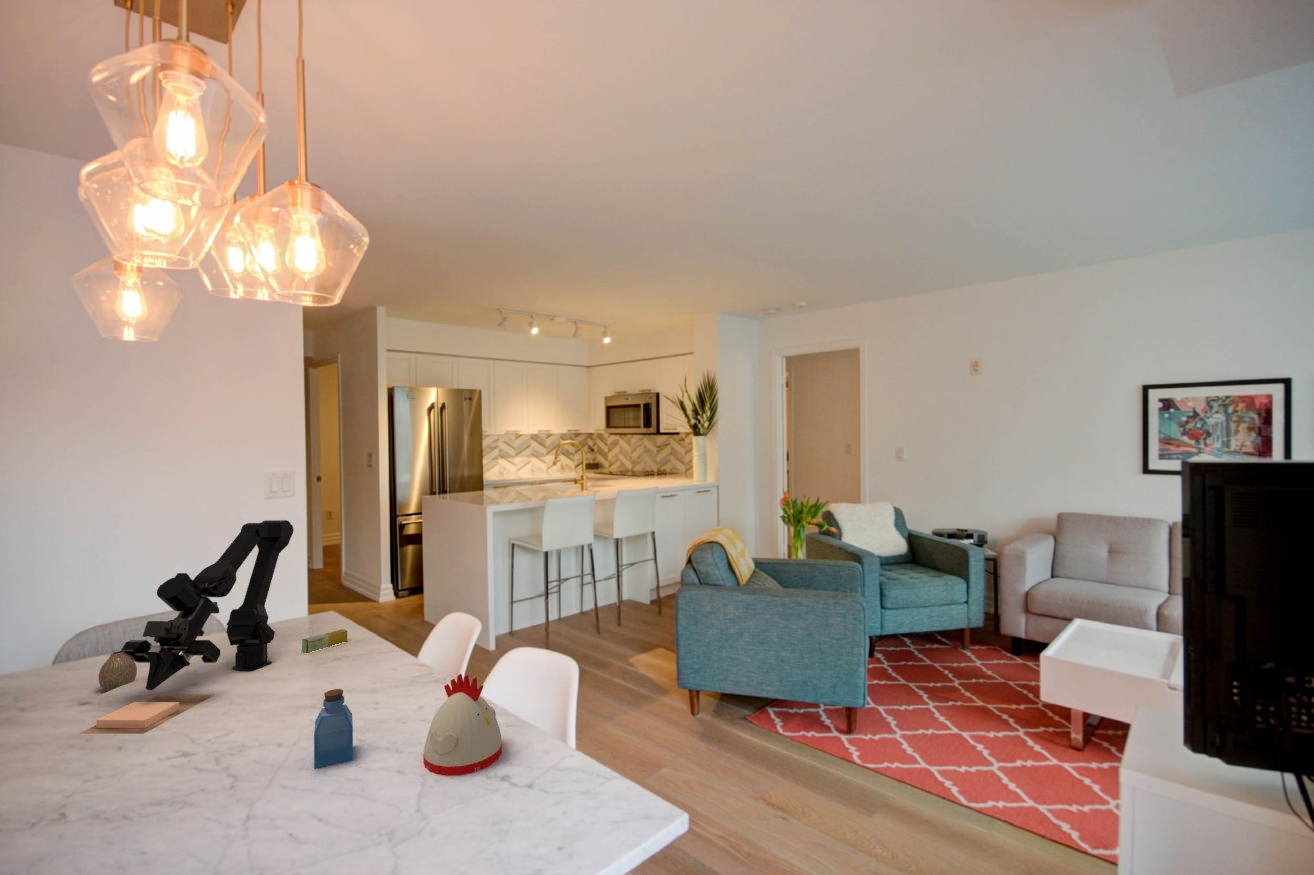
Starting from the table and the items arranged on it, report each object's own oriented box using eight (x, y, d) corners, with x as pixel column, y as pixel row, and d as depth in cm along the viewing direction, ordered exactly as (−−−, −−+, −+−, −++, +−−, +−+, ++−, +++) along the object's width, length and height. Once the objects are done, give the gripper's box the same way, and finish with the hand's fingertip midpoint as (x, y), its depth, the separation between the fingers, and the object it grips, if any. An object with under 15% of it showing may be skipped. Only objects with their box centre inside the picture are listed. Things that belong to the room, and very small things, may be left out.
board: (159, 700, 139) (159, 694, 139) (215, 701, 139) (215, 694, 139) (79, 740, 120) (79, 733, 120) (143, 741, 120) (143, 733, 120)
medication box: (305, 655, 169) (306, 640, 169) (300, 653, 171) (301, 639, 171) (348, 643, 180) (348, 629, 180) (342, 641, 181) (343, 628, 181)
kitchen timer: (470, 782, 105) (470, 694, 105) (406, 768, 109) (406, 684, 109) (516, 744, 118) (515, 666, 118) (457, 733, 122) (457, 658, 123)
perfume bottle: (314, 769, 109) (314, 702, 109) (315, 753, 115) (315, 689, 115) (352, 760, 112) (352, 695, 112) (352, 746, 117) (352, 683, 118)
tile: (133, 702, 131) (96, 720, 122) (179, 702, 131) (145, 720, 122) (133, 710, 131) (96, 728, 122) (179, 710, 131) (145, 728, 122)
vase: (144, 683, 149) (144, 647, 150) (116, 695, 143) (116, 657, 143) (119, 682, 150) (119, 647, 150) (90, 694, 143) (90, 656, 143)
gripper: (128, 603, 135) (79, 672, 123) (210, 603, 134) (169, 673, 123) (158, 628, 142) (115, 695, 131) (236, 628, 142) (199, 695, 131)
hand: (148, 689), depth 129 cm, fingers closed
